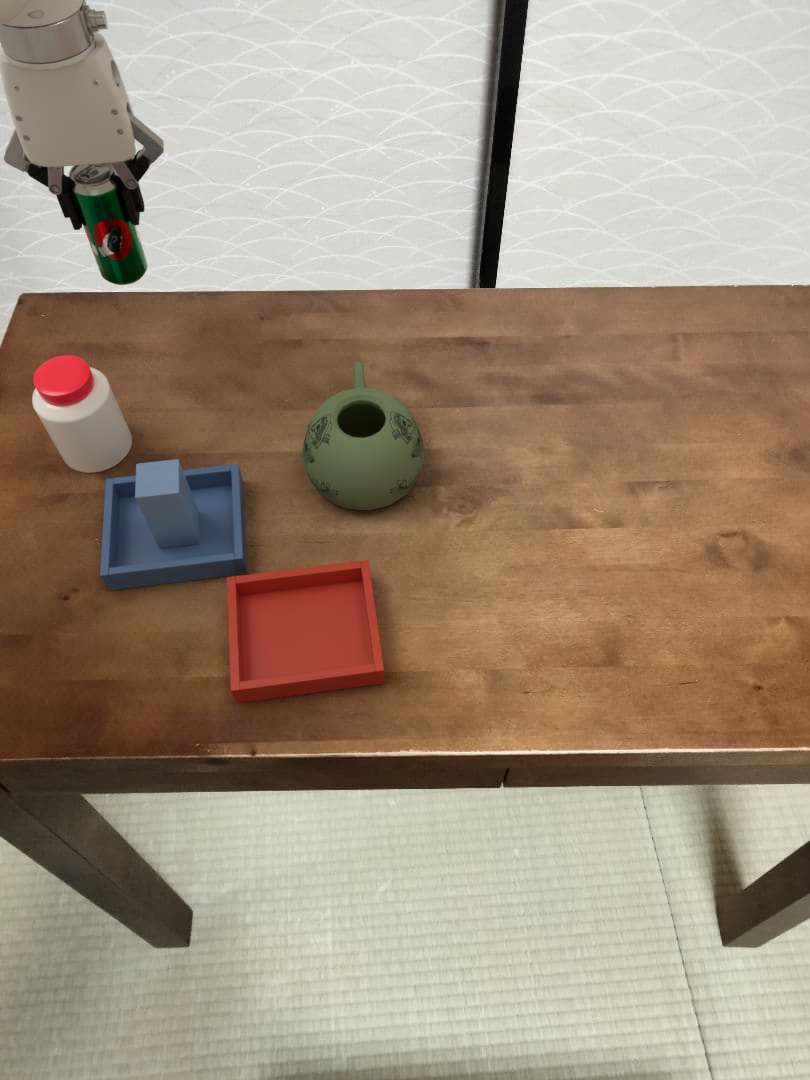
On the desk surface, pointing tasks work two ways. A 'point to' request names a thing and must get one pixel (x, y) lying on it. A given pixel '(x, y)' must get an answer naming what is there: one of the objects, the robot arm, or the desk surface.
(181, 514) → the blue block
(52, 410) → the pill bottle
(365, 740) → the desk surface
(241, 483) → the blue tray
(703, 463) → the desk surface
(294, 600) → the red tray
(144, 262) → the soda can
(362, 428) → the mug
